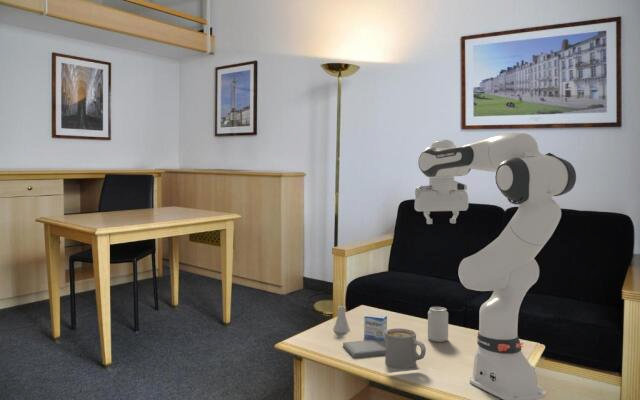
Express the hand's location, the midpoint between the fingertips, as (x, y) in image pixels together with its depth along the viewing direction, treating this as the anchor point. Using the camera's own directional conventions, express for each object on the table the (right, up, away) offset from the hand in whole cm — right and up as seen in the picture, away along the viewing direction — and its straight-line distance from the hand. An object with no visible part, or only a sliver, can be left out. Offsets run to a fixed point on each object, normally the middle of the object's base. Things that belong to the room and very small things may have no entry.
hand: (441, 223), depth 183 cm
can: (0, -44, +7) cm, 45 cm away
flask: (-35, -44, +17) cm, 59 cm away
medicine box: (-23, -44, +9) cm, 51 cm away
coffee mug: (-16, -45, -19) cm, 52 cm away
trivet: (-28, -45, -5) cm, 53 cm away
